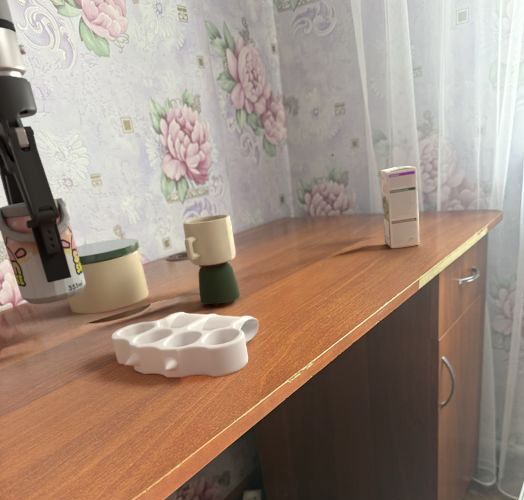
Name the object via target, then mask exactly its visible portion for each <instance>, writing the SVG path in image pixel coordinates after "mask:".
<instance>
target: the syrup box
mask: <svg viewBox="0 0 524 500" xmlns="http://www.w3.org/2000/svg"><path fill="white" fill-rule="evenodd" d="M380 178H381V179H380V181H381V182H380V183H381V198H382V199H381V200H382V215H383V217H382V218H383V232H384V244H385V245H387V246H388V247H389V248H390V249H401V248H408V247H415V246H419V245H420V217H419V192H418V168H417V167H416V166H410V165H404V166H403V165H402V166H394V167H390V168H386V169H381V170H380Z"/></svg>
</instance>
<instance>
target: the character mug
mask: <svg viewBox="0 0 524 500" xmlns="http://www.w3.org/2000/svg"><path fill="white" fill-rule="evenodd" d="M182 225H183V227H182V228H183V232H184V246H185V251H186V256H187V259H188V260H189V261H190V262H191V263H192V264H193V265H195V266H198V267H199V270H198V289H199V291H198V292H199V301H200V304H202V305H207V304H212V305H213V306H218V304H223V303H225V304H226V303H230V302H234V301H237V300H238V299H239V298H240V297H241V292H240V288H239V284H238V281H237V278H236V275H235V272H234V268H233V266H232V265H231V263H230V261H232V260H233V259H235V258H236V247H235V246H236V245H235V240H234V234H233V228H232V227H233V226H232V221H231V216H230V214H215V215H207V216H202V217H196V218H191V219H188V220H185V221H183V222H182Z"/></svg>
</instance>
